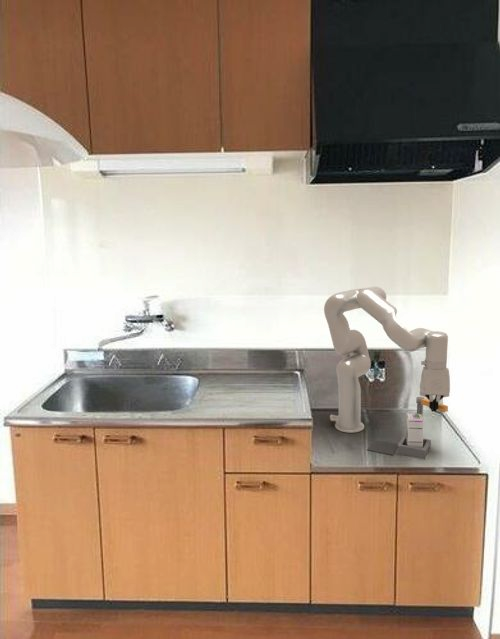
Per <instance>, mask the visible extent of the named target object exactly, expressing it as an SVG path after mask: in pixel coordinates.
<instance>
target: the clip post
mask: <svg viewBox="0 0 500 639" xmlns="http://www.w3.org/2000/svg"><path fill="white" fill-rule="evenodd" d="M416 414H421V415H422V418H423V419H424V405H422V404H418V403H416Z"/></svg>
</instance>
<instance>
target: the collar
mask: <svg viewBox="0 0 500 639" xmlns="http://www.w3.org/2000/svg"><path fill="white" fill-rule="evenodd" d="M406 441H407V434H404V435H403V436H402V438H401V439H400V441H399V442H398V443H397V444H398V448H397V454H398V455H403V456H407V457H413V458H417V459H421V460H426V458H427V457H428V455H429V453H430V450H431V449H432V448H431V447H432V442H431V441H432V439H428V438H423V449H422V448H417V447H411V446H406Z"/></svg>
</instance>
